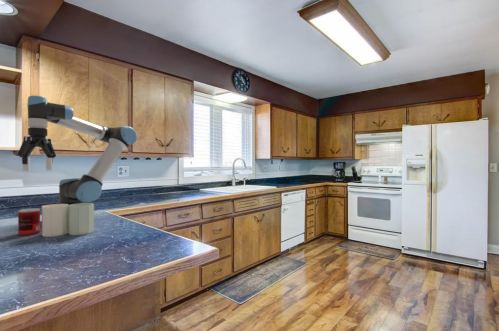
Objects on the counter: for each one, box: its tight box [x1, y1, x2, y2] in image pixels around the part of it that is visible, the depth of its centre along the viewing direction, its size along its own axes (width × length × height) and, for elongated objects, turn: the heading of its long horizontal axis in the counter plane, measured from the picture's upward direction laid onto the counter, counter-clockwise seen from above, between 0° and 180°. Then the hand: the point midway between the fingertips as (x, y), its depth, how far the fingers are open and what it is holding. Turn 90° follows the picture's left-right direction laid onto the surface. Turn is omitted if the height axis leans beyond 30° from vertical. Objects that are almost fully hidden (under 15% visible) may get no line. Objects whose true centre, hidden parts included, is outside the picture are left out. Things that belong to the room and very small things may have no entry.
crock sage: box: [67, 202, 95, 236], centre depth 123 cm, size 10×10×13 cm
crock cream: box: [41, 203, 69, 238], centre depth 120 cm, size 10×10×13 cm
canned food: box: [17, 207, 41, 237], centre depth 121 cm, size 8×8×11 cm
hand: (38, 170), depth 131 cm, fingers open, 13 cm apart
